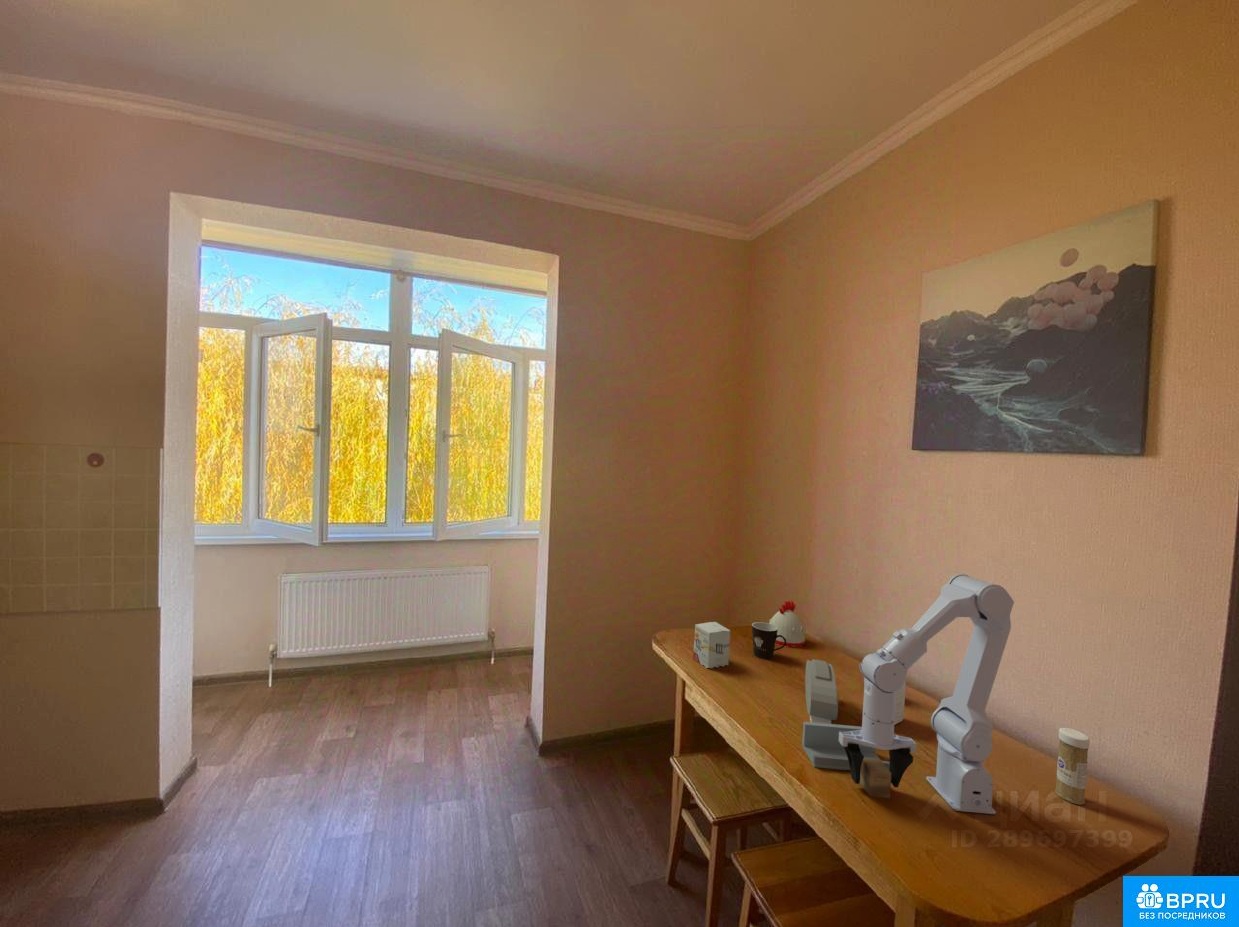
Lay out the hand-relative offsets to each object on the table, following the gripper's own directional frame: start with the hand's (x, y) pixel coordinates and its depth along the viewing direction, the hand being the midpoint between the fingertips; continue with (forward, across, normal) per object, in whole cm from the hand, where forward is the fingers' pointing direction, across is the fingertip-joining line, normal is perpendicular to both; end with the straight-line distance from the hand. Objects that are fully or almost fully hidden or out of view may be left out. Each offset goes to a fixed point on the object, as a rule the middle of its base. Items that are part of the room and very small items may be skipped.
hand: (874, 782), depth 96 cm
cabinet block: (+2, 0, 0) cm, 2 cm away
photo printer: (+2, -17, -28) cm, 33 cm away
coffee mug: (+2, +5, -65) cm, 65 cm away
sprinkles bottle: (+2, -41, -3) cm, 41 cm away
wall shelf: (+1, +2, -10) cm, 10 cm away
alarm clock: (+2, 0, -30) cm, 30 cm away
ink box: (+2, +25, -57) cm, 62 cm away
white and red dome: (+2, -7, -83) cm, 83 cm away
